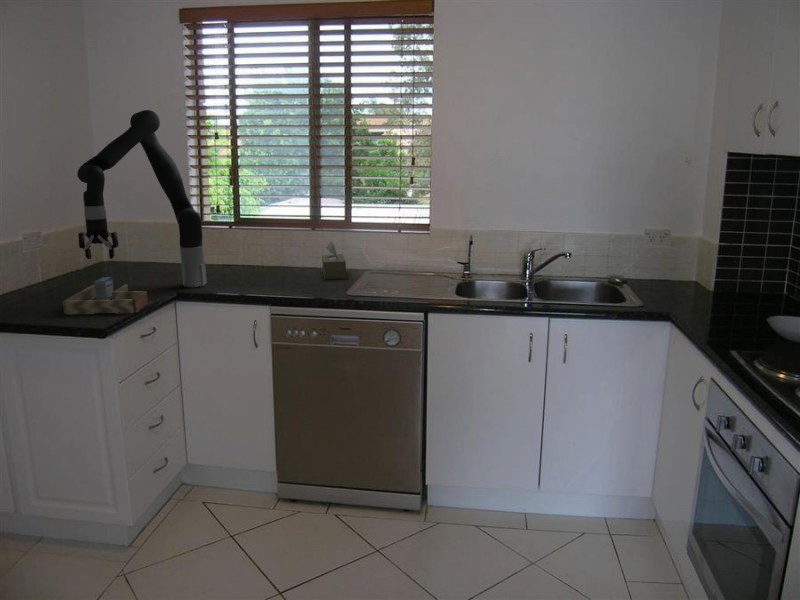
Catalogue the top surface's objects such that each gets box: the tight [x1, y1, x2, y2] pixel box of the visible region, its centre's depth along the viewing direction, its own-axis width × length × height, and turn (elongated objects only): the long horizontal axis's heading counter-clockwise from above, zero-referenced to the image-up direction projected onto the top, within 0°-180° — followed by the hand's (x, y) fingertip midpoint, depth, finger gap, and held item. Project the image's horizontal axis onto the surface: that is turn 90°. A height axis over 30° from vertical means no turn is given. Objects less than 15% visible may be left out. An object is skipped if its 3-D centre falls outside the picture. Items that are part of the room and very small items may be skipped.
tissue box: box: [321, 241, 347, 280], centre depth 305 cm, size 19×10×16 cm, turn 9°
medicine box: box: [93, 276, 115, 300], centre depth 262 cm, size 8×4×9 cm, turn 4°
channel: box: [62, 283, 149, 315], centre depth 255 cm, size 26×27×5 cm
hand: (100, 258), depth 259 cm, fingers open, 8 cm apart
